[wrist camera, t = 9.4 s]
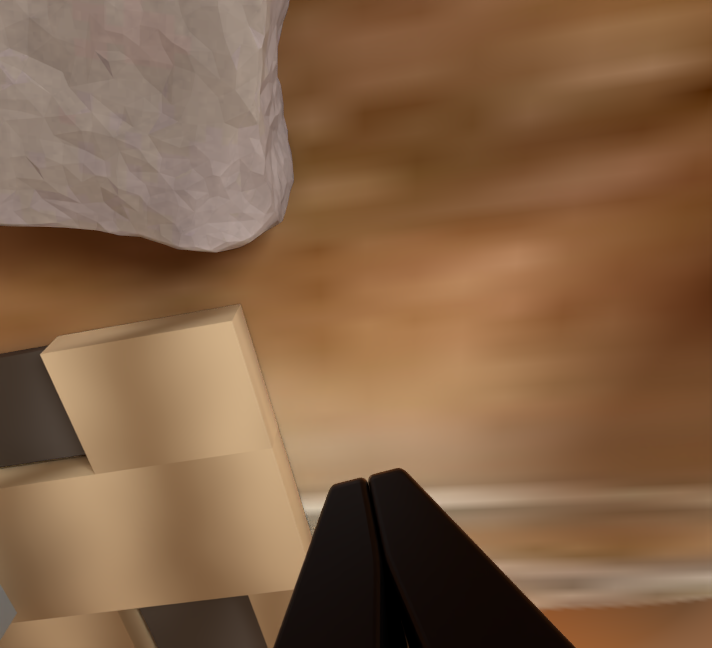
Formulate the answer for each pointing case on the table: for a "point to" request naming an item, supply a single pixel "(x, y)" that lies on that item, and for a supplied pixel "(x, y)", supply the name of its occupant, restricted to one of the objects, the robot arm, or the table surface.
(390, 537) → the robot arm
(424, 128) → the table surface
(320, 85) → the table surface
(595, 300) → the table surface
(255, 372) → the trap board
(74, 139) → the stone block
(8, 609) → the slate block
